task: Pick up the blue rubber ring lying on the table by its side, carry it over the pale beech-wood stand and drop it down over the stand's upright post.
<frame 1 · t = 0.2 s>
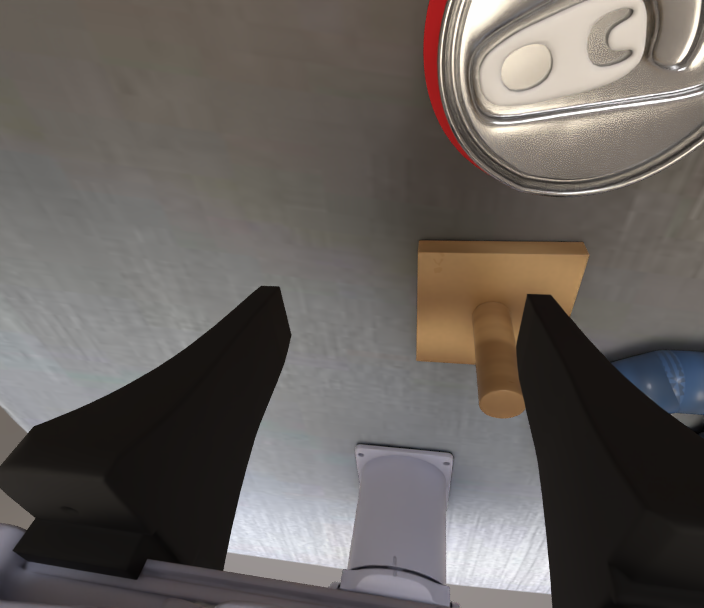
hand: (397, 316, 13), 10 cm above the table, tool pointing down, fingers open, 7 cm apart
stand: (489, 301, 24), on the table
ring: (660, 432, 26), point 2 cm above the table
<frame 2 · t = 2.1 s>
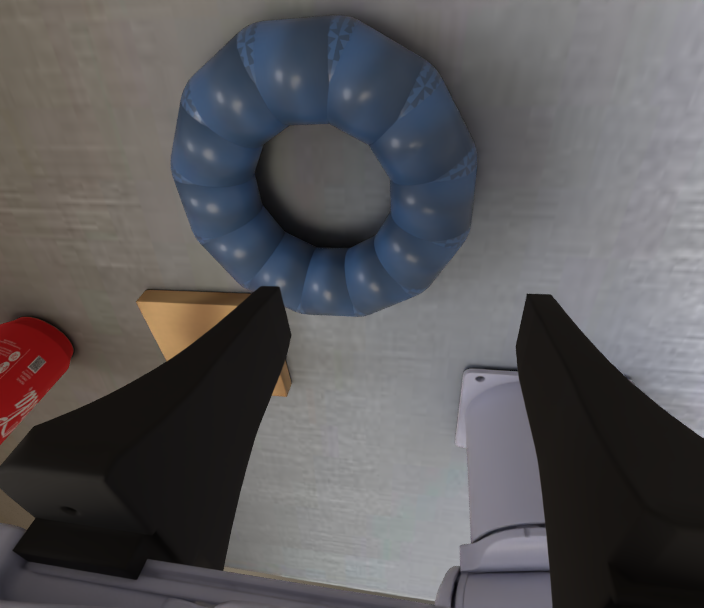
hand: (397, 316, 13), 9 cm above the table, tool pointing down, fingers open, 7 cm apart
stand: (223, 339, 28), on the table
ring: (321, 194, 18), point 2 cm above the table
beverage can: (46, 336, 32), on the table
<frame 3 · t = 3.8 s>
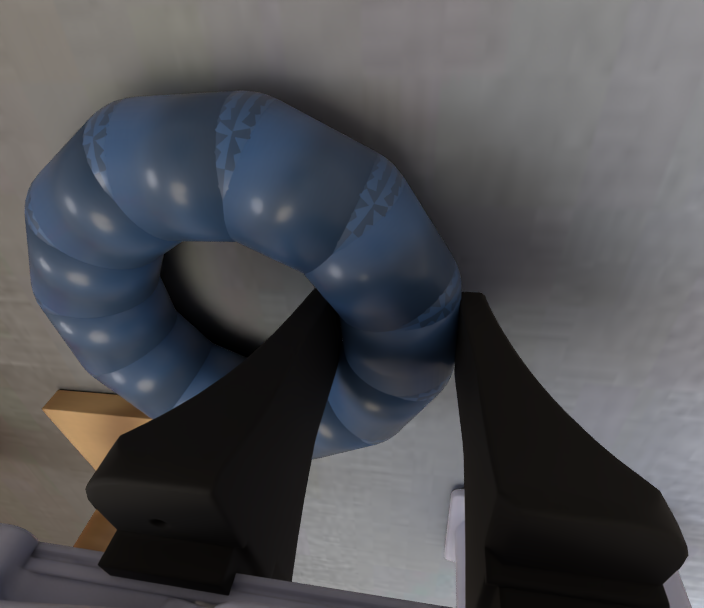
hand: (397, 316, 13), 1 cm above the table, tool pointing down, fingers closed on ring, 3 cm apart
stand: (159, 442, 23), on the table
ring: (248, 316, 13), point 2 cm above the table, touching gripper
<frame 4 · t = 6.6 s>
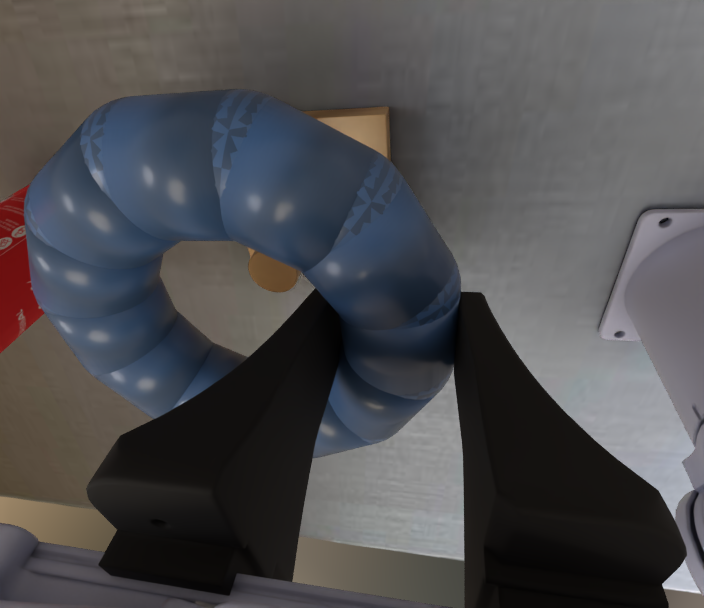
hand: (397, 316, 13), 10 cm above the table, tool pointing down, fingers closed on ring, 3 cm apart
stand: (315, 192, 22), on the table
ring: (248, 315, 13), point 11 cm above the table, touching gripper
beverage can: (85, 211, 26), on the table
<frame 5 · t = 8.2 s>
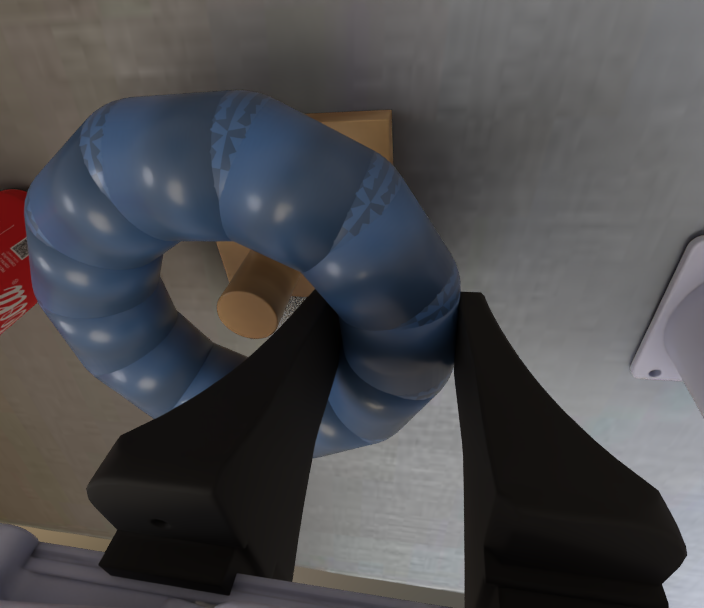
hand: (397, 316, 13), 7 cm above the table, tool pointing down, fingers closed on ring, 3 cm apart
stand: (303, 209, 19), on the table
ring: (247, 315, 13), point 7 cm above the table, touching gripper
beverage can: (40, 226, 22), on the table
when the fingers open (4 cm above the table, at t = 9.7 s): ring stays where it is, resting on stand.
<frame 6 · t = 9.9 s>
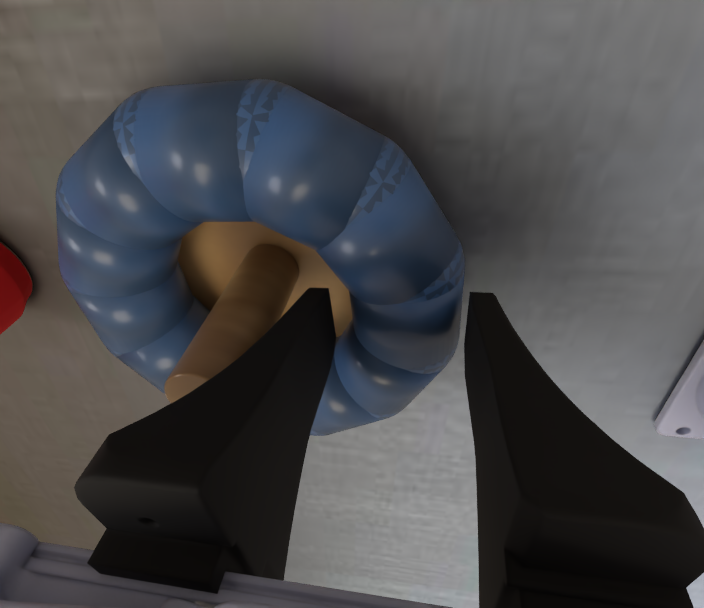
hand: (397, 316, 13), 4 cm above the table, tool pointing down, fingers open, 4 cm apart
stand: (282, 249, 16), on the table
ring: (262, 296, 14), point 3 cm above the table, touching stand
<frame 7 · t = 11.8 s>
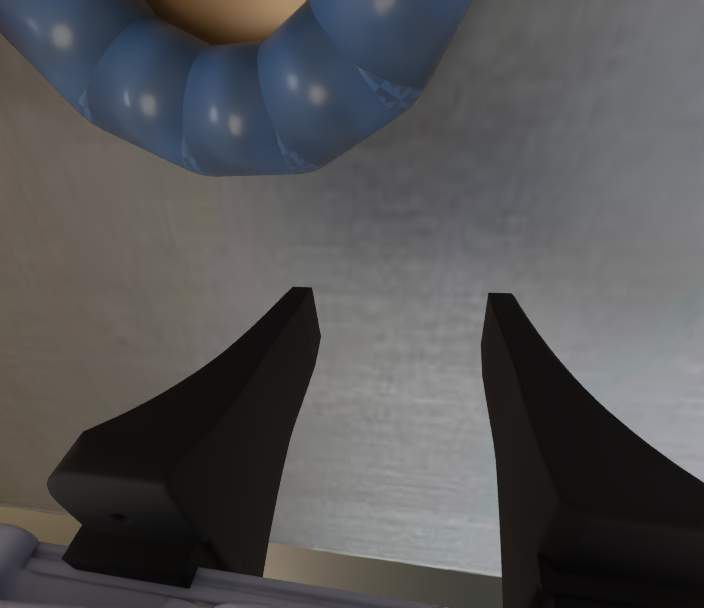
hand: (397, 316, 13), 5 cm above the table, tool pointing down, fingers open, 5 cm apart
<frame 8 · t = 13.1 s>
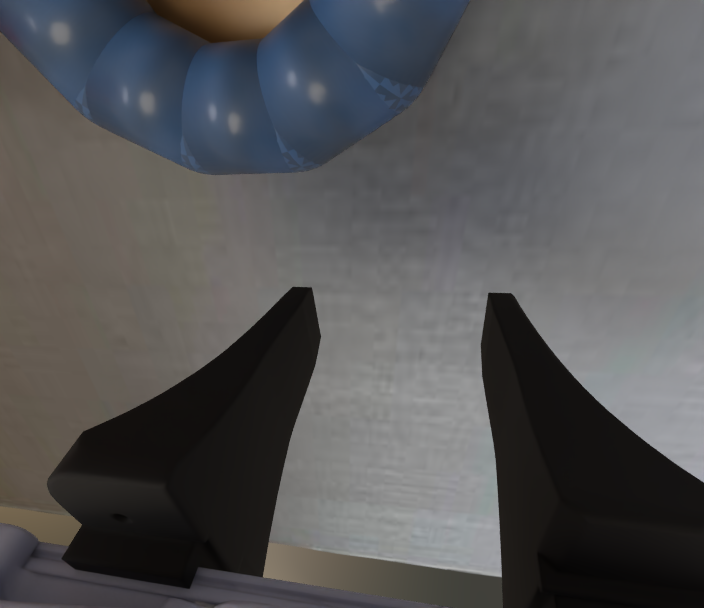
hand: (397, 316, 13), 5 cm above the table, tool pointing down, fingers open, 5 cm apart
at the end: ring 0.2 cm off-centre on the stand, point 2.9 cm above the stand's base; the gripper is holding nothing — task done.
